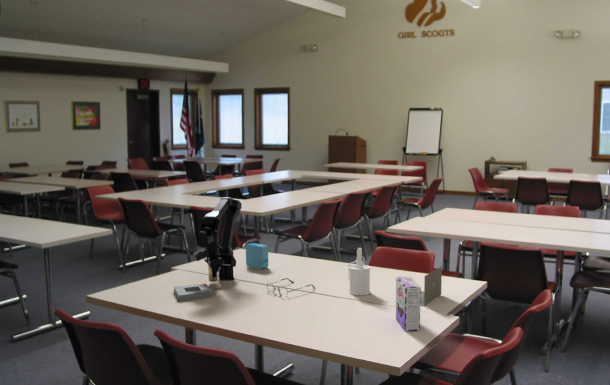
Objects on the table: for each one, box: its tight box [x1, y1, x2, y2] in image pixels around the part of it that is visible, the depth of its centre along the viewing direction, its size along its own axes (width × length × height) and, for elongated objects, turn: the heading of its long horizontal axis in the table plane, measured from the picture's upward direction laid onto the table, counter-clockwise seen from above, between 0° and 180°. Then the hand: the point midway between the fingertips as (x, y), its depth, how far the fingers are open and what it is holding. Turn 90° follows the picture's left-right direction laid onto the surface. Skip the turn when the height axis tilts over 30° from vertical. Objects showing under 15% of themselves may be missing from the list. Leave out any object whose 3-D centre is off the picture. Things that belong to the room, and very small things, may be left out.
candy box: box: [395, 276, 422, 332], centre depth 207 cm, size 14×6×16 cm, turn 5°
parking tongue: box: [205, 281, 222, 290], centre depth 259 cm, size 6×6×2 cm
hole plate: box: [173, 282, 213, 302], centre depth 248 cm, size 14×14×3 cm
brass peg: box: [207, 264, 219, 283], centre depth 258 cm, size 4×4×8 cm
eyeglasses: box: [265, 277, 315, 296], centre depth 254 cm, size 16×19×5 cm
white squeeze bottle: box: [347, 247, 371, 297], centre depth 248 cm, size 10×9×20 cm
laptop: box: [420, 266, 443, 307], centre depth 239 cm, size 18×12×13 cm
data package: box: [245, 242, 269, 270], centre depth 294 cm, size 12×4×12 cm, turn 52°
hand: (213, 276), depth 259 cm, fingers closed on brass peg, 4 cm apart
